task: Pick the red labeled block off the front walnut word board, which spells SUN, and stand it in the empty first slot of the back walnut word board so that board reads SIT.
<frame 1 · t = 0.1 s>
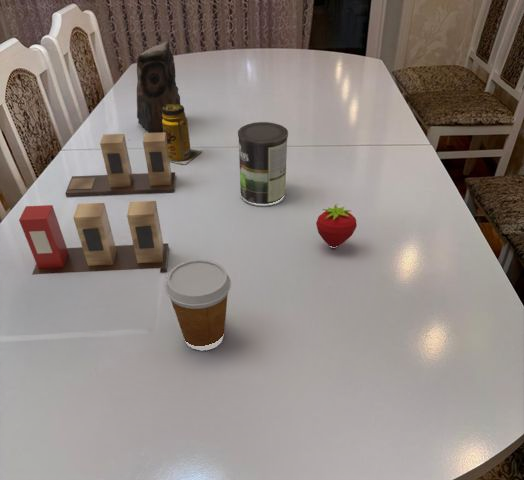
disposable coffee cup: (204, 338, 79), on the table
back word: (122, 186, 115), on the table
red labeled block: (53, 260, 92), point 1 cm above the table, touching front word
coffee can: (263, 196, 111), on the table
front word: (103, 262, 94), on the table
strawberry: (333, 249, 97), on the table
condiment: (181, 156, 126), on the table
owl: (159, 126, 139), on the table
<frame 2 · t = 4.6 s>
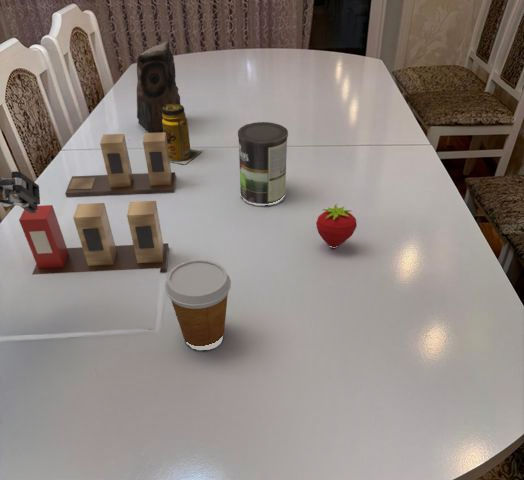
hand: (3, 208, 72), 18 cm above the table, tool tilted 45°, fingers open, 8 cm apart
nothing on the table moved.
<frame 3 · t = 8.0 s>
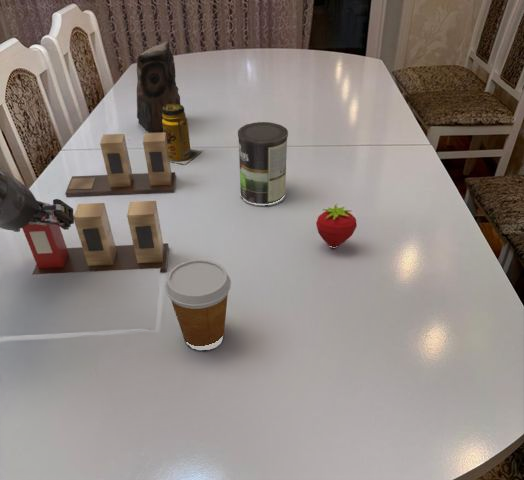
hand: (42, 225, 88), 8 cm above the table, tool tilted 45°, fingers open, 8 cm apart
nothing on the table moved.
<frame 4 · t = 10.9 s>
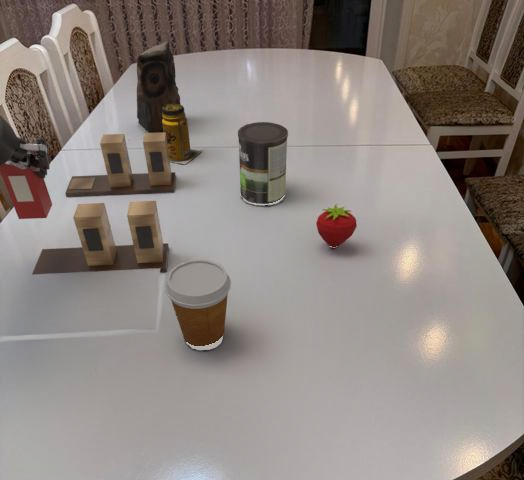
hand: (26, 172, 82), 17 cm above the table, tool tilted 45°, fingers closed on red labeled block, 4 cm apart
red labeled block: (36, 211, 86), point 11 cm above the table, touching gripper
everything else where it was.
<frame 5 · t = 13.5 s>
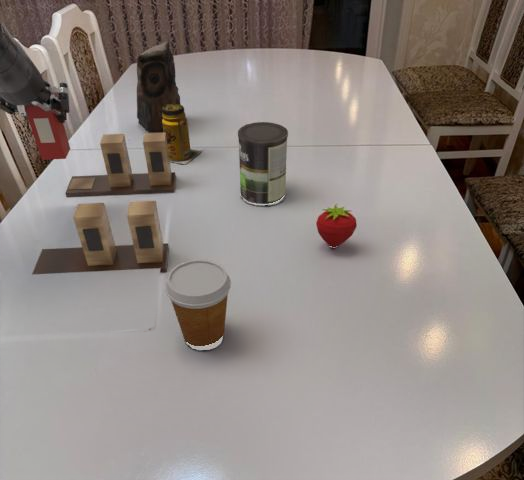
hand: (48, 118, 94), 19 cm above the table, tool tilted 45°, fingers closed on red labeled block, 4 cm apart
red labeled block: (56, 154, 97), point 13 cm above the table, touching gripper
everything else where it was.
when the fingers open (7 cm above the table, at t = 18.5 s): red labeled block stays where it is, resting on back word.
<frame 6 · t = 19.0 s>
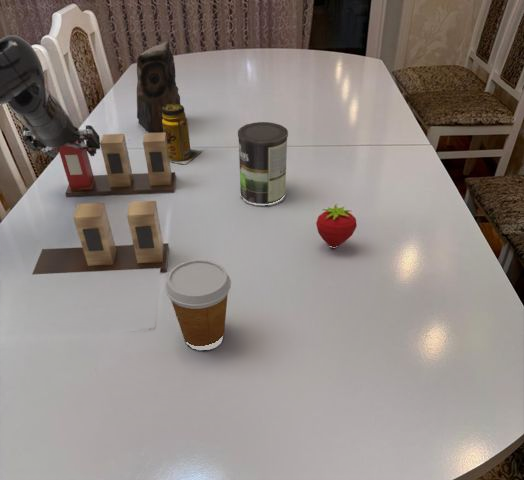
hand: (73, 152, 110), 8 cm above the table, tool tilted 45°, fingers open, 8 cm apart
red labeled block: (82, 183, 113), point 1 cm above the table, touching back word
everything else where it was.
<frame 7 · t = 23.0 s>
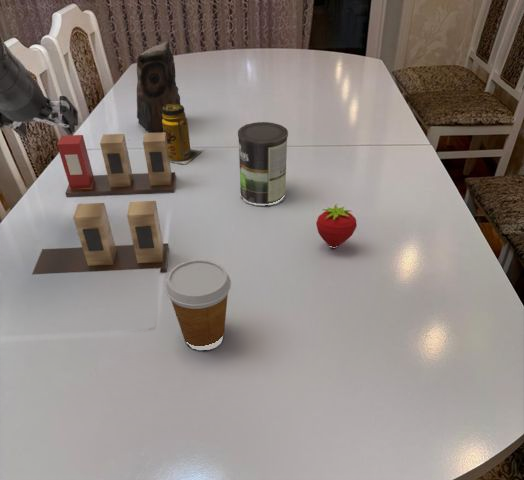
hand: (47, 130, 93), 18 cm above the table, tool tilted 45°, fingers open, 8 cm apart
nothing on the table moved.
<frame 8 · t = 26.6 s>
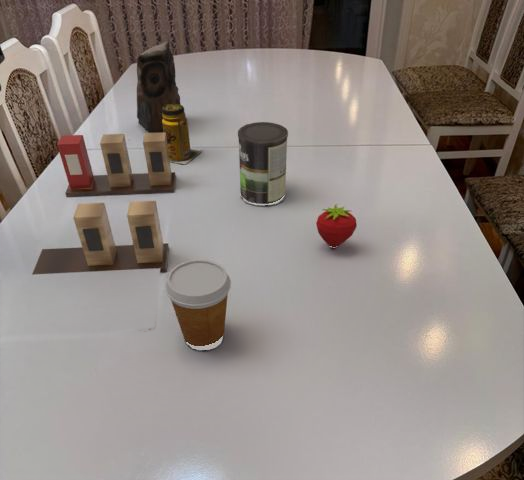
nothing on the table moved.
at the end: red labeled block 0.1 cm from the target spot on the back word, point 1.1 cm above the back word's base; red labeled block tilted 0°; the gripper is holding nothing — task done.
